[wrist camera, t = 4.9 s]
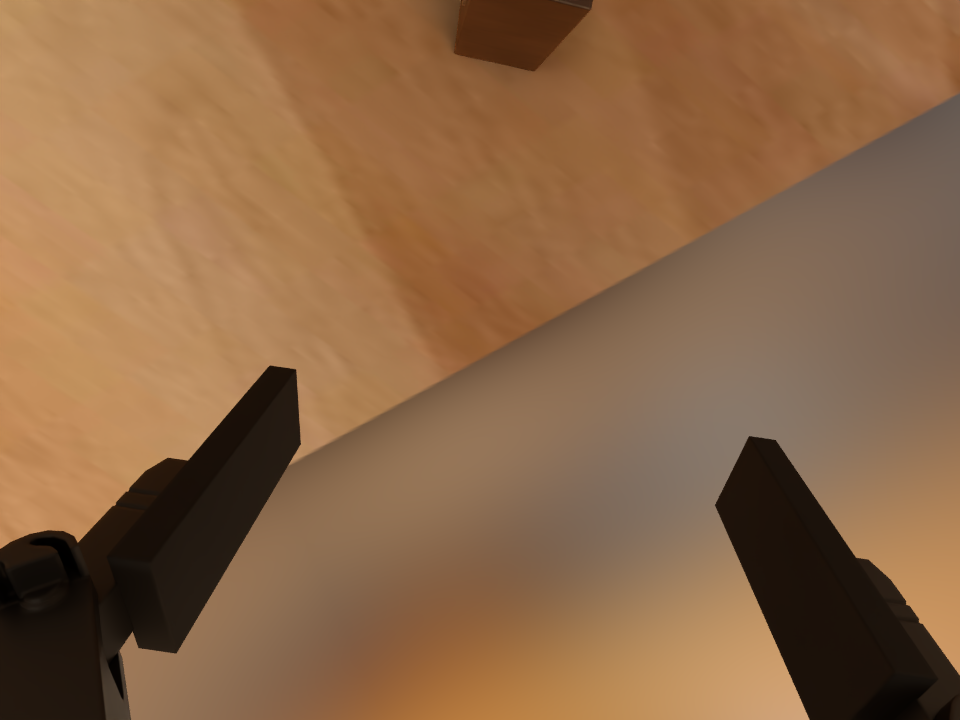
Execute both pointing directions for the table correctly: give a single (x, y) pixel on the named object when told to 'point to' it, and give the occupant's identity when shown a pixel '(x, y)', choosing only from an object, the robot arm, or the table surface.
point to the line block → (516, 29)
